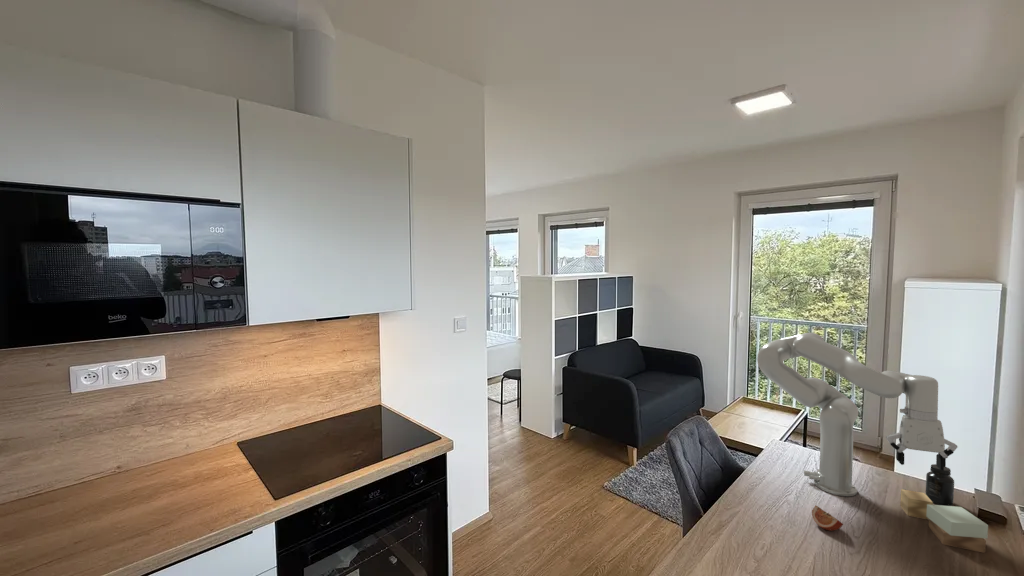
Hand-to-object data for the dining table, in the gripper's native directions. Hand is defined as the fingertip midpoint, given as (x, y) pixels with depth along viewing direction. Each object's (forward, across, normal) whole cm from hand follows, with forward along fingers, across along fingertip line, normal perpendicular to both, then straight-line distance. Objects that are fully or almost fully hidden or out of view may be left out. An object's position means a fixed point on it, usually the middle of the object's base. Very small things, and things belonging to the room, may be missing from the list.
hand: (920, 465), depth 138 cm
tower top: (+13, +4, -12) cm, 18 cm away
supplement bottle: (+16, +9, +12) cm, 23 cm away
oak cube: (+16, -1, 0) cm, 16 cm away
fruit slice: (+16, -29, -21) cm, 39 cm away
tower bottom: (+17, +4, -12) cm, 21 cm away
